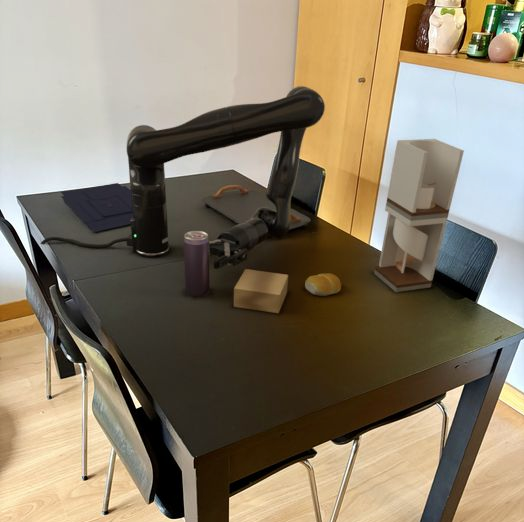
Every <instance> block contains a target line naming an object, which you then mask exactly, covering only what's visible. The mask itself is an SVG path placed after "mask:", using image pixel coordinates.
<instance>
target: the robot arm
mask: <svg viewBox="0 0 524 522" xmlns="http://www.w3.org/2000/svg"><path fill="white" fill-rule="evenodd" d="M325 110H326V105H325V101H324V99H323V97H322V96H321V94H320V93H319V92H318V91H316V90H314V89H312V88H311V87H308V86H304V85H300V86H299V85H298V86H296V87H293V88H292V89H291V90H289V91H288V92H287V94H286V96H285V97H282V98H279V99H276V100H273V101H269V102H262V103H261V102H260V103H244V104H243V103H242V104H233V105H230V106H229V105H228V106H224V107H220V108H216V109H212V110H209V111H207V112H204V113H201V114H200V115H197V116H196V117H193V118H192V119H190V120H188V121H186V122H184V123H182V124H179V125H176V126H173V127H167V128H162V129H156V128H154V127H153V126H151V125H147V124H140V125H137V126H134V127H133V128H132V129H131V130H130V132H129V133H128V135H127V137H126V148H125V149H126V155H127V158H128V159H127V161H128V163H127V164H128V177H129V189H131V200H132V211H133V218H132V219H131V221H130V223H131V224H130V234H129V235H128V236H127V237H121V238H117V239H114V240H111V241H110V242H108V243H102V244H95V243H94V244H93V243H87V242H82V241H78V240H76V239H72V238H66V237H59V236H49V237H46V238H45V239H43V240H42V241H41V242H40V245H45V244H47V243H48V242H53V241H58V242H64V243H71V244H74V245H77V246H80V247H83V248H84V247H85V248H92V249H104V248H110V247H112V246H113V245H115V244H117V243H123V242H126V247H132V252H133V253H135V254H137V255H139V256H142V257H145V258H156V257H162V256H166V255H168V253H169V251H170V244H169V227H168V226H169V224H168V209H167V206H168V205H167V189H166V188H167V187H166V174H165V164H166V163H169V162H171V161H174V160H177V159H179V158H180V159H181V158H182V157H186V156H190V155H195V154H200V153H201V154H202V153H206V152H210V151H215V150H219V149H224V148H227V147H232V146H236V145H239V144H242V143H246V142H249V141H252V140H256V139H259V138H261V137H264V136H267V135H270V134H275V133H280V136H279V141H278V145H277V146H278V147H277V150H276V155H275V158H274V163H273V167H272V170H271V175H270V178H269V182H268V186H267V190H266V194H265V195H266V197H267V199H268V200H270V201H271V202H272V203H273V204H274V205H275V206H276V211H275V210H272V209H270V208H267V207H262V208H259V209H258V210H257V211H256V212H255V214H254V215H253V216H252V217H251V218H250V219H249V220H248V221H246V222H244V223H241V224H238V223H237V224H236V225H234V226H231V227H230V228H228V229H226V230H223V231H222V232H221V233H220V234H219V235H218V237H217V238H216V239H211V240H209V257H211V256H215V257H217V258H216V259H214V260H213V269H216V270H218V269H220V268H223V267H224V266H230V265H232V266H233V267H237V266H239V265H240V264H241V263H243V262H244V261H246V260H248V252H250V251H251V250H253V249H254V248H255V247H256V246H258V245H260V244H262V243H263V242H265V241H266V240H267V238H268V236H270V237H273V238H274V239H278V240H280V239H282V238H284V237H285V236H286V235H287V234H288V232H289V231H290V230H289V226H290V208H291V205H292V204H291V202H292V197H293V193H294V189H295V186H296V182H297V179H298V178H297V177H298V172H299V164H300V155H301V148H302V143H303V139H304V136H305V133H306V131H307V128H311V127H313V126H315V125H317V124H318V123H319V122H320V121H321V120H322V118H323V116H324V113H325Z"/></svg>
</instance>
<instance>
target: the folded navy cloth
mask: <svg viewBox="0 0 524 522" xmlns="http://www.w3.org/2000/svg"><path fill="white" fill-rule="evenodd" d="M60 193H61V194H62V195H61V196H60V198H62V201H63V202H64V204H65V205H66V206H67V207H68V208H69V209H70V210H71V211H73V213H74V214H75V215H76V216H77V217H78V218H79V219H80V220H81V221H82V222H83V223H84V224H85V225H86V227H87V228H89V229H90V230H91V231H92V232H93V233H97V232H100V231H105V230H109V229H110V230H111V229H114V228H118V227H123V226H127V225H131V223H130V221H131V219H132V218H133V211H132V200H131V189H130V187H128V186H127V185H123V186H122V185H121V184H120V183H119V182H114V183H109V184H108V183H107V184H103V185H102V184H101V185H96V186H91V187H85V188H83V187H82V188H77V189H71V190H64V191H60Z"/></svg>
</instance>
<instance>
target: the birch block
mask: <svg viewBox="0 0 524 522" xmlns="http://www.w3.org/2000/svg"><path fill="white" fill-rule="evenodd" d="M288 284H289V274H285V273H278V272H270V271H263V270H255V269H249V268H248V269H247V268H245V269H244V270H243V273H242V274H241V276H240V278H239V279H238V281H237V282H236V284H235V286H234V288H233V308H239V309H245V310H247V309H248V310H254V311H261V312H267V313H273V314H279V313H280V311H281V308H282V306H283V305H284V301H285V299H286V296H287V293H288Z"/></svg>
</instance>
